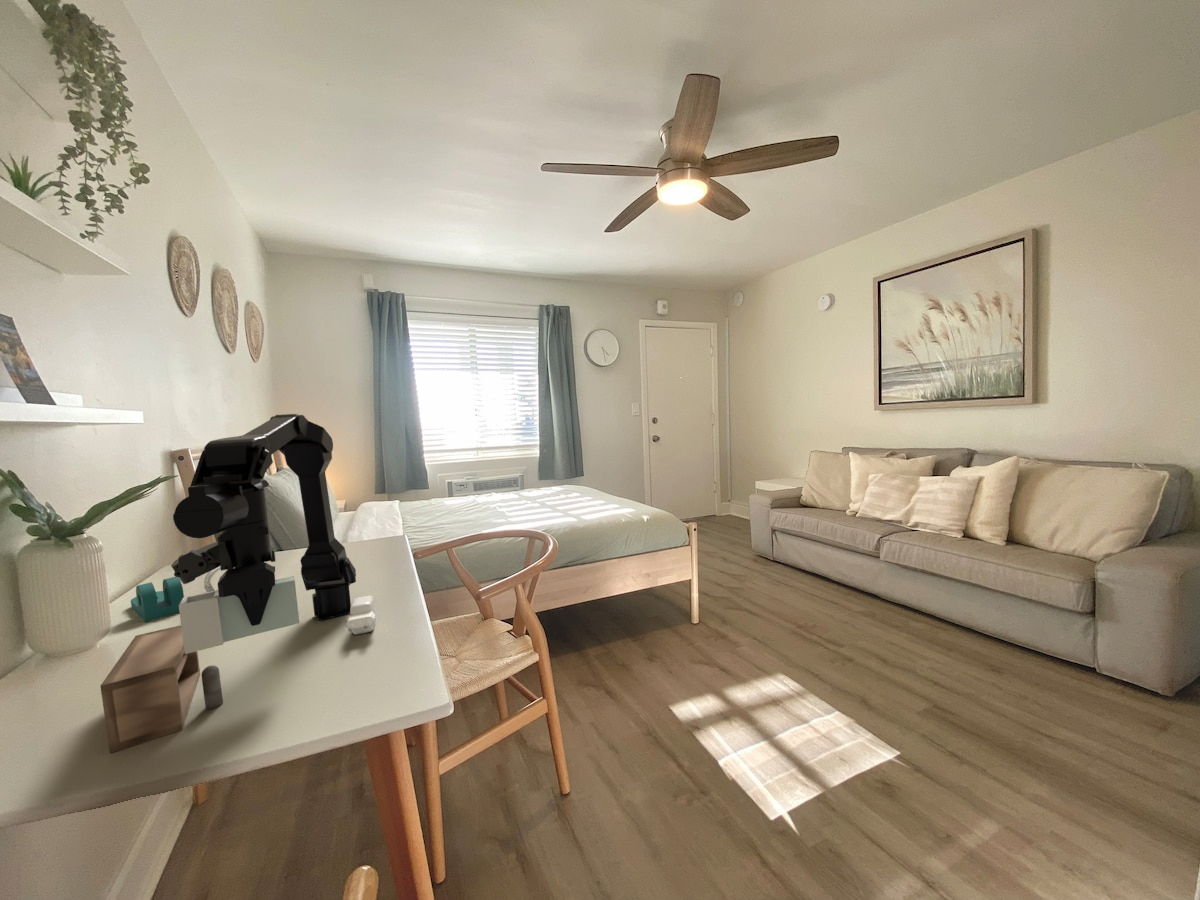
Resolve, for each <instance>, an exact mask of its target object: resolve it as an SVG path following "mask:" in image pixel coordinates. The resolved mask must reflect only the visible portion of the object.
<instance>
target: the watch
mask: <svg viewBox="0 0 1200 900" xmlns="http://www.w3.org/2000/svg"><path fill="white" fill-rule="evenodd" d="M218 571H221V568H220V566H219V567H218V568H216V569H214V570H212V571H209V572H207V573H206V575H205V577H204V581H203V585H204V586H203V588H204V590H205V592H211V591H216V589H214V587H213V586H212V583H211V581H212V577H214V575H215V574H216V573H217V572H218Z"/></svg>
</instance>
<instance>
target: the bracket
mask: <svg viewBox="0 0 1200 900" xmlns="http://www.w3.org/2000/svg"><path fill="white" fill-rule="evenodd" d="M135 595H136V596H135V597H133V598H131V599H130V607H131V610H132V609H133V610H134V611H135V612H134V613H135V614H136V613H137V614H136V615H138V617H139V618H141V619H142V620H143V621H144V622H145V623H149V622H152V621H156V620H159V619H162V618H166V617H170V616H173V615H174V616H175V615H177V614H180V612H179V604H180V603H181V601H182V599H183V597H185V595H184V589H183V583H182V581H181V580H180V578H179V577H175V576H172V577H169V578H164V579H162V590H158V591H156V588H155V586H154V583H153V582H146V583H143V584H138V585H136V588H135ZM133 610H132V611H133Z"/></svg>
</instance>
